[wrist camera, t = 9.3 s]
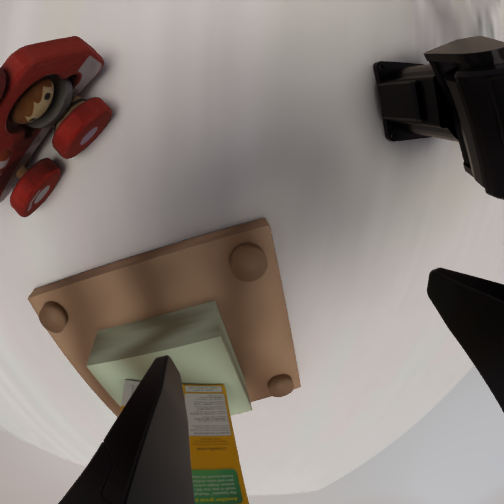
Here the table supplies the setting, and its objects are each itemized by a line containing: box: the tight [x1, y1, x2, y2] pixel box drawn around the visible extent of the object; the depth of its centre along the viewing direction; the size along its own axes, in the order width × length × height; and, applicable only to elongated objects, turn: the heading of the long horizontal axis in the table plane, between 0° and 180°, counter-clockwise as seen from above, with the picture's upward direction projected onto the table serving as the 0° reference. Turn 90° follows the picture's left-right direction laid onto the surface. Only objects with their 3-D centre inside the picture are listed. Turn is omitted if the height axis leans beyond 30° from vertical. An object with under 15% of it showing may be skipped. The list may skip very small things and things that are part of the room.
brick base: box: [28, 218, 301, 417], centre depth 21 cm, size 20×18×6 cm
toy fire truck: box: [0, 36, 112, 217], centre depth 10 cm, size 7×12×10 cm, turn 129°
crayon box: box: [121, 380, 249, 504], centre depth 14 cm, size 7×3×12 cm, turn 80°
